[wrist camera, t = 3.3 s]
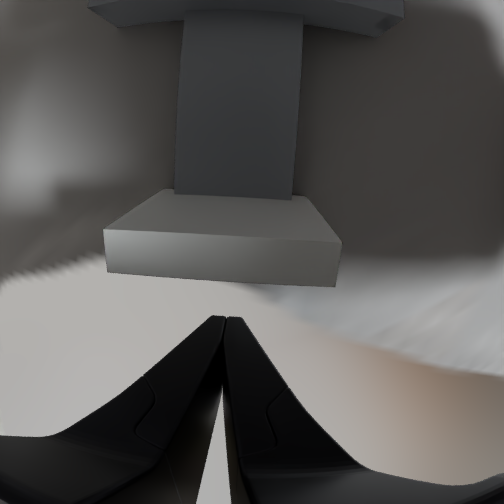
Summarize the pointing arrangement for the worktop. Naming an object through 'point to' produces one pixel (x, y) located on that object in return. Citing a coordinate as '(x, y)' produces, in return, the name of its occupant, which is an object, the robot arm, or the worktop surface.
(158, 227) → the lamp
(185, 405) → the robot arm
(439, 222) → the worktop surface
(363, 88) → the worktop surface
